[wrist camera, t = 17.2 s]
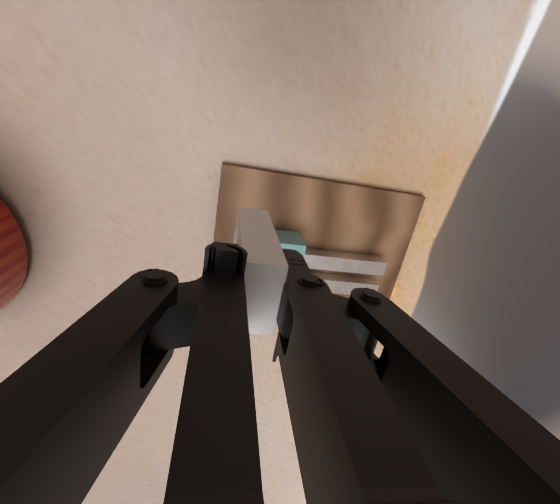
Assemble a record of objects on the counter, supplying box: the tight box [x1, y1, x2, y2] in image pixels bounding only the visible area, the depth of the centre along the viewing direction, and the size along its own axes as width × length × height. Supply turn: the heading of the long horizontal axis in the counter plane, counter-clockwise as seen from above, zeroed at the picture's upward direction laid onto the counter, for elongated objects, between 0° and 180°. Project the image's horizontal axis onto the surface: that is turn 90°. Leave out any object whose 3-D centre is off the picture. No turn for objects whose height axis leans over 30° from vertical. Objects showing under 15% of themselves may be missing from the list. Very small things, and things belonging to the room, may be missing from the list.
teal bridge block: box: [275, 229, 307, 257], centre depth 43 cm, size 4×10×5 cm, turn 170°
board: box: [214, 163, 425, 299], centre depth 46 cm, size 28×19×1 cm
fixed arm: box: [311, 271, 379, 295], centre depth 46 cm, size 23×2×2 cm, turn 80°
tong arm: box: [304, 248, 387, 276], centre depth 45 cm, size 19×3×3 cm, turn 80°
